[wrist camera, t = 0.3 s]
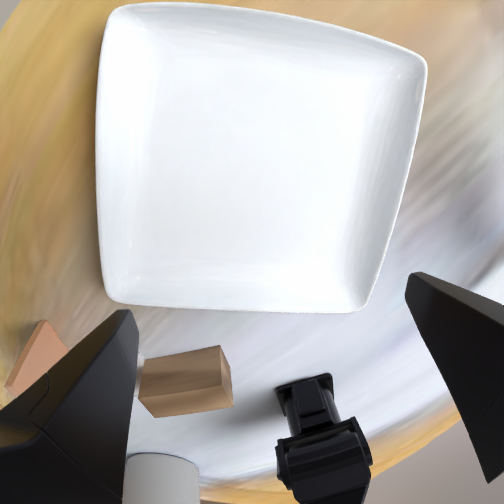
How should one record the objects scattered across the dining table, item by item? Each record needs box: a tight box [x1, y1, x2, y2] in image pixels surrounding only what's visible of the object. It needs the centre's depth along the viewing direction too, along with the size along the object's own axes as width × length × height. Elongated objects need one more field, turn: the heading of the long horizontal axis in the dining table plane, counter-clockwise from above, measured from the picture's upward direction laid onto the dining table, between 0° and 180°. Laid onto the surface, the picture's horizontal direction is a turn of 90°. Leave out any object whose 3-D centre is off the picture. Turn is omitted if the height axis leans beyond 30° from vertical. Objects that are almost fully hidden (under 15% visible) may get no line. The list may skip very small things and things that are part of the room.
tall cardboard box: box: [134, 345, 234, 418], centre depth 27 cm, size 6×13×5 cm, turn 104°
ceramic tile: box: [4, 320, 69, 398], centre depth 23 cm, size 8×2×9 cm, turn 14°
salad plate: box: [95, 2, 427, 314], centre depth 20 cm, size 21×21×3 cm
